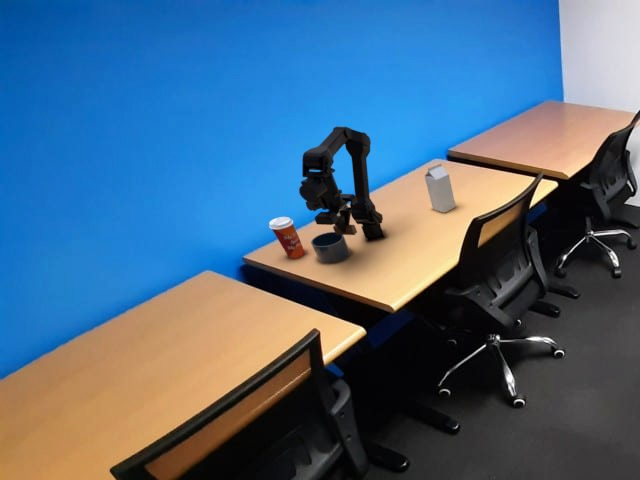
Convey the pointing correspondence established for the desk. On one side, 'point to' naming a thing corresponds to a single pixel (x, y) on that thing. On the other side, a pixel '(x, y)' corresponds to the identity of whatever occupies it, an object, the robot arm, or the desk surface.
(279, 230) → the paper cup
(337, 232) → the dark rectangular block
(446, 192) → the milk carton
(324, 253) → the dark grey round bowl
